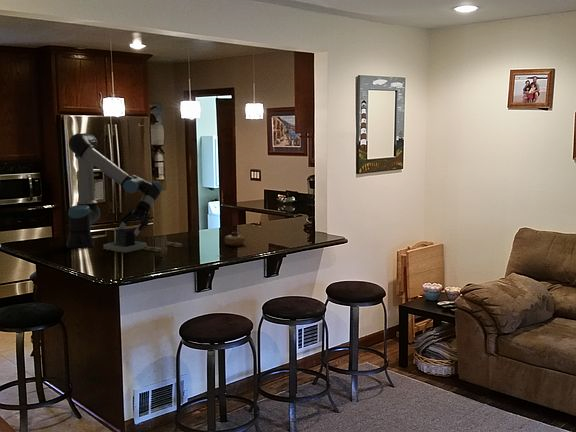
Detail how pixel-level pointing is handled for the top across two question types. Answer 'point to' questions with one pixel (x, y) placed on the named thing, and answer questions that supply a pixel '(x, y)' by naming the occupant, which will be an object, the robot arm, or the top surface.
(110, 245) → the tray
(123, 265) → the top surface
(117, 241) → the small box
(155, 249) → the oak cradle
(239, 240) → the pumpkin
